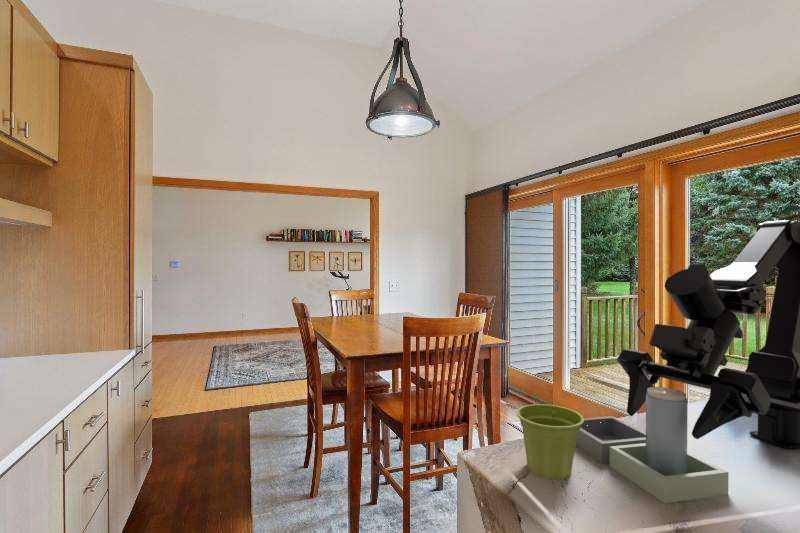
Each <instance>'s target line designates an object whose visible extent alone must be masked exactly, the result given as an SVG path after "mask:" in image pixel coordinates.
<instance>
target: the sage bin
mask: <svg viewBox="0 0 800 533" xmlns="http://www.w3.org/2000/svg"><path fill="white" fill-rule="evenodd" d="M609 467H610V468H611V469H612V470H614V471H616V472H617V473H618V474H620V475H621V476H622V477H624V478H625V479H627V480H629V482H632V483H633V484H634V485H636V486H638V487H639V488H641V489H642V490H644V491H645V492H646V493H648V494H649V495H651V496H653V497H654V498H655V499H656V500H659V501H660V502H661V503H662V504H665V505H666V504H671V503H678V502H686V501H692V500H693V501H694V500H703V499H708V498H716V497H723V496H728V495H729V474H730V473H729V472H730V471H727V470H725V469H723V468H721V467H720V466H716V465H715V464H713V463H711V462H709V461H707V460H705V459H704V458H703V459H702V458H701V457H698V456H697V455H695V454H693V453H691V452H689V451H687V474H679V475H670V476H664V475H662V474H660V473H659V472H657V471H655V470H653V469H652V468H650V467H648V466H647V465H646V443H641V444H631V445H620V446H610V463H609Z"/></svg>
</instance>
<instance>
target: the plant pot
mask: <svg viewBox="0 0 800 533" xmlns="http://www.w3.org/2000/svg"><path fill="white" fill-rule="evenodd" d="M516 415H517V418H518V419H519V422H520V425H521V428H522V433H523V434H522V435H523V440H524V446H525V447H524V448H525V456H526V465H527V468H528V470H529V471H530V472H531V473H533V474H534V475H536V476H539V477H541V478H543V479H544V478H545V479H550V480H563V479H567V478H569V477H570V476H572V475H571V474H572V471H573V470H572V469H573V464H574V456H575V451H576V447H577V446H576V440H577V434H578V433H579V431H580V426H581V425H582V424H583V423H584V417H583V415H582V414H581V413H580V412H578V411H576V410H573V409H570V408H568V407H563V406H560V405H555V404H545V403H544V404H543V403H537V404H536V403H535V404H533V403H532V404H527V405H523V406H521V407H519V408H518V409H517V410H516Z"/></svg>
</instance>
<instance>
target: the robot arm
mask: <svg viewBox="0 0 800 533" xmlns="http://www.w3.org/2000/svg"><path fill="white" fill-rule="evenodd" d="M775 267H776V268H777V274H776V279H775V280H776V281H775V286H774V292H773V298H772V303H771V308H770V315H769V321H768V325H767V329H766V330H767V332H766V337H765V342H764V345H763V347H761V349H759V350H758V351H751V352H750V354H749V355H748V362H747V366H746V369H745V370H744V371H743V370H740V369H739V370H737V369H733V368H730V367H729V368H728V367H726V366H727V363H728V359H727V357H726V354H727V352H728V350H729V347H730V346H731V344H732V342H733V340H734V338H735V339H742V338H743V337H744V334H743V330H742V327H741V322H740V320H739V318H738V316H737V315H736V314H742V315H754V314H755V313H757V312H758V311H759V310H760V308H762V307H763V305H764V302H765V300H766V299H767V293H766V290H765V287H764V283H765V281H766V279H767V278H768V276H769V275H770V274H771V272H772V271H773V270H774V268H775ZM664 282H665V283H664V288H665V290H666V292H667V294H668V295H669V297H670V299H671V300H672V301H673V302H672V303H674V305H675V307H676V308H677V310H678V312H679V313H680V315H681V316H682V318H683V317H684V318H685V319H688V320H690V322H689V324H688V326H687V327H682V326H677V325H668V324H661V323H655V324H654V327H653V331H652V334H651V337H650V340H649V343H648V344H649V346H650V347H655V348H657V349H658V350H660V351H661V352H660V354H659V356H660V357H661V359H662V360H664V361H666V364H663V363H659V362H655V361H654V359H653V357H652V356H651V355H650V353H649V352H645V351H642V350H636V349H631V348H624V349H622V350H621V352H620V353H619V355H618V356H617V358H616V360H617V362H618V364H619V365H620V366H621V367H622V369H623V371H624V372H625V373H626V374H627V376H628V378H629V386H628V388H629V389H628V396H627V397H628V398H627V405H626V406H627V407H626V413H627V414H628V415H629V416H630V417H633V416H634V415H636V413H637V412H639V410H641V407H642V406H643V405H644V404H646V393H647V389H648V388H650V387H654V385H655V384H657V383H658V382H659V380H660V379H661V378H663V379H666V380H671V381H674V382H678V383H679V382H680V383H683V384H686V385H690V386H694V387H699V388H703V389H706V390H710V391H709V392H710V393H709V398H708V400H707V401H706V404H705V405H704V407H703V409H702V411H701V412H700V414H699V416H698V417H697V419H696V421H695V424H694V426H693V429H692V432H691V436H692V437H693V438H694V439H695V440H699V439H701V438H702V437H705V436H706V435H707V434H709V433H711V432H713V431H715V430H717V429H718V428H720V427H722V426H724V425H726V424H727V423H730V422H732V421H735V420H737V419H739V418H742V417H746V418H751V417H752V416H753V414H756V415H757V430H753V431H749V435H750V436H753V437H755V438H758V439H760V440H763V441H766V442H768V443H770V444H773V445H776V446H779V447H782V448H784V449H787V450H792V449H798V448H799V449H800V222H799V221H798V220H793V219H787V220H786V219H783V220H771V221H770V220H769V221H764V222H762V223H759V224H758V226H757V228H756V232H755V234H754V235H753V237H752V238H751V239H750V240H749V242H748V243H747V244H746V246H745V247H744V248H743V250H741V251H740V253H739V254H737V257H736V258H735V259H734V261H733V262H731V263H730V265H728V266H725V267H721V268H720V269H716V270H714V271H713V272H712V273H711V274H710V272H709V269H708V267H707V266H706V264H705V263H690V264H689V266H688V268H684V269H681V270H679V271H677V272H675V273H673V274H672V275H671V276H668V277H667V279H666V280H665V281H664ZM720 366H723V367H724V368H720V369H719V367H720ZM718 369H719V372H718V373H717V371H718ZM716 373H717V375H716Z"/></svg>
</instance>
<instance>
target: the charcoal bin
mask: <svg viewBox="0 0 800 533" xmlns="http://www.w3.org/2000/svg"><path fill="white" fill-rule="evenodd" d="M583 418H584V417H583ZM600 422H601V423H600ZM587 425H588V426H587ZM641 443H646V431H643V430H641V429H640V428H637V427H635V426H634V425H631V424H630V423H628V422H625V421H624V420H623V419H622V420H621V419H619V418H617V417H615V416H613V415H610V416H598V417H597V416H596V417H586V418H584V423H583V424H582V425H581V426H580V431H579V433H578V434H577V440H576V446H575V447H577V448H578V449H580V450H581V451H583V452H584V453H585V454H587V455H588V456H590V457H592V458H593V459H594V460H596V461H598V463H600V464H610V446H620V445H631V444H641Z"/></svg>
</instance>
